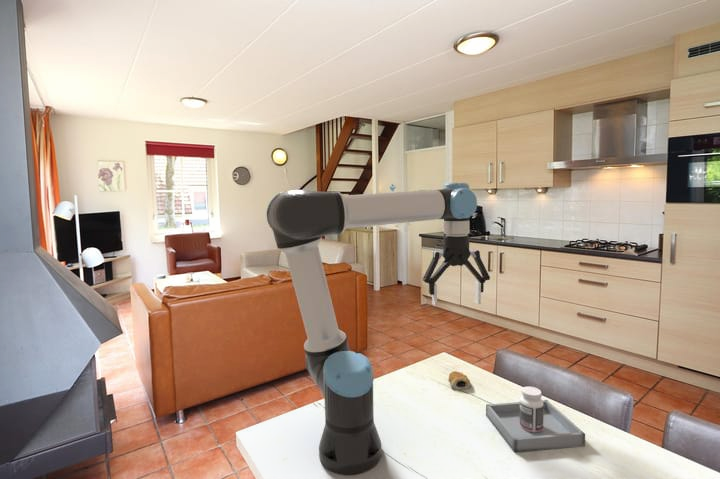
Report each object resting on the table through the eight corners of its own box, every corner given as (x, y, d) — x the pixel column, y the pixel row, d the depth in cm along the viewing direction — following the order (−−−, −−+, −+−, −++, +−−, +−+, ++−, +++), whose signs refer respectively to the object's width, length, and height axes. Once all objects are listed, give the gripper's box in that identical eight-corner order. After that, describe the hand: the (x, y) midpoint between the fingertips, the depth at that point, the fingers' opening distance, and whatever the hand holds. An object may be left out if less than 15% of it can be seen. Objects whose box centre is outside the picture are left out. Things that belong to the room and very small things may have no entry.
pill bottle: (538, 420, 102) (539, 385, 101) (546, 433, 97) (547, 396, 96) (516, 420, 103) (517, 385, 102) (523, 432, 97) (524, 396, 96)
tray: (514, 452, 91) (514, 440, 91) (485, 415, 107) (486, 404, 107) (584, 446, 93) (585, 433, 93) (546, 410, 109) (546, 399, 108)
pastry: (445, 377, 131) (445, 366, 131) (465, 377, 131) (465, 366, 130) (451, 390, 122) (451, 379, 121) (472, 390, 122) (472, 379, 121)
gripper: (490, 232, 119) (490, 298, 121) (412, 235, 117) (413, 302, 119) (502, 234, 112) (501, 305, 114) (418, 237, 109) (419, 309, 112)
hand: (456, 304), depth 117 cm, fingers open, 13 cm apart
